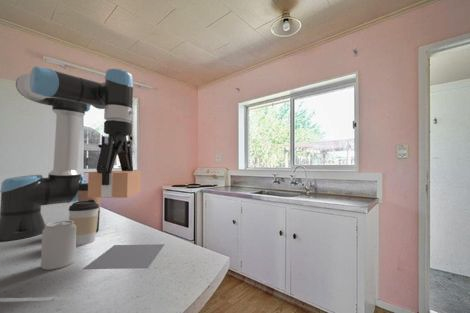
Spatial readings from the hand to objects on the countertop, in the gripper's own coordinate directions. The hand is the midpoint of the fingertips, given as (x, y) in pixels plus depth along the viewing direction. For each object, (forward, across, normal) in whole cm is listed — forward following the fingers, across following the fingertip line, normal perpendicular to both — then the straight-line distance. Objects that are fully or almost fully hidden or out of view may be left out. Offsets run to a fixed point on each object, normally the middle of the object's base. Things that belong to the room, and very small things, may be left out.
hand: (116, 193), depth 66 cm
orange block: (0, 0, 0) cm, 0 cm away
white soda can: (+20, -4, +13) cm, 24 cm away
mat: (+19, +1, -4) cm, 20 cm away
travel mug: (+20, +26, +22) cm, 40 cm away
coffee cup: (+20, +13, +17) cm, 29 cm away
